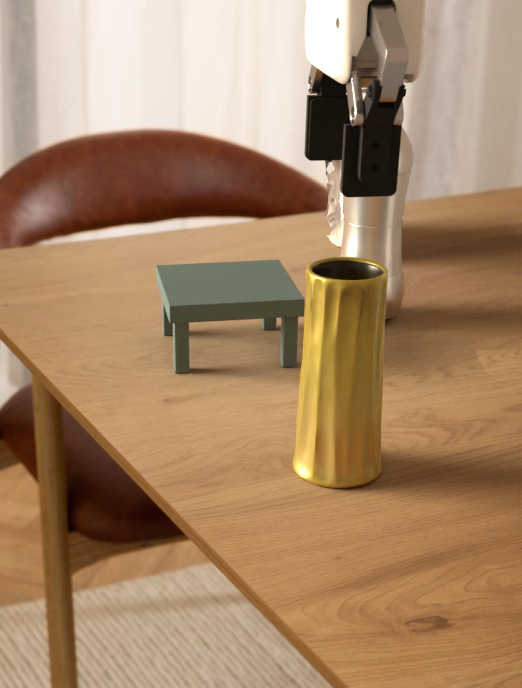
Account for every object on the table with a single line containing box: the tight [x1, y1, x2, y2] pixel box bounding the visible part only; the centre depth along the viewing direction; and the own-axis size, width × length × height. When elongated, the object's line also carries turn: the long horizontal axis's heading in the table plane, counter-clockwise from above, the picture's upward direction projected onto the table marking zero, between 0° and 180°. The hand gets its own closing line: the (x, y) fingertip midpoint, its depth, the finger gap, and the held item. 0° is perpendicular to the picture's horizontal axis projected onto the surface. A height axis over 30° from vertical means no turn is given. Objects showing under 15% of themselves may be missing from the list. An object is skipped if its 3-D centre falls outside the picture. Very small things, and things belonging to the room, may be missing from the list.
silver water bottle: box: [339, 88, 415, 320], centre depth 104 cm, size 6×7×20 cm
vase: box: [291, 256, 388, 489], centre depth 78 cm, size 6×6×14 cm
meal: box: [324, 160, 344, 248], centre depth 127 cm, size 15×4×13 cm, turn 2°
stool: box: [155, 259, 305, 374], centre depth 101 cm, size 11×11×6 cm
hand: (347, 176), depth 72 cm, fingers open, 9 cm apart
